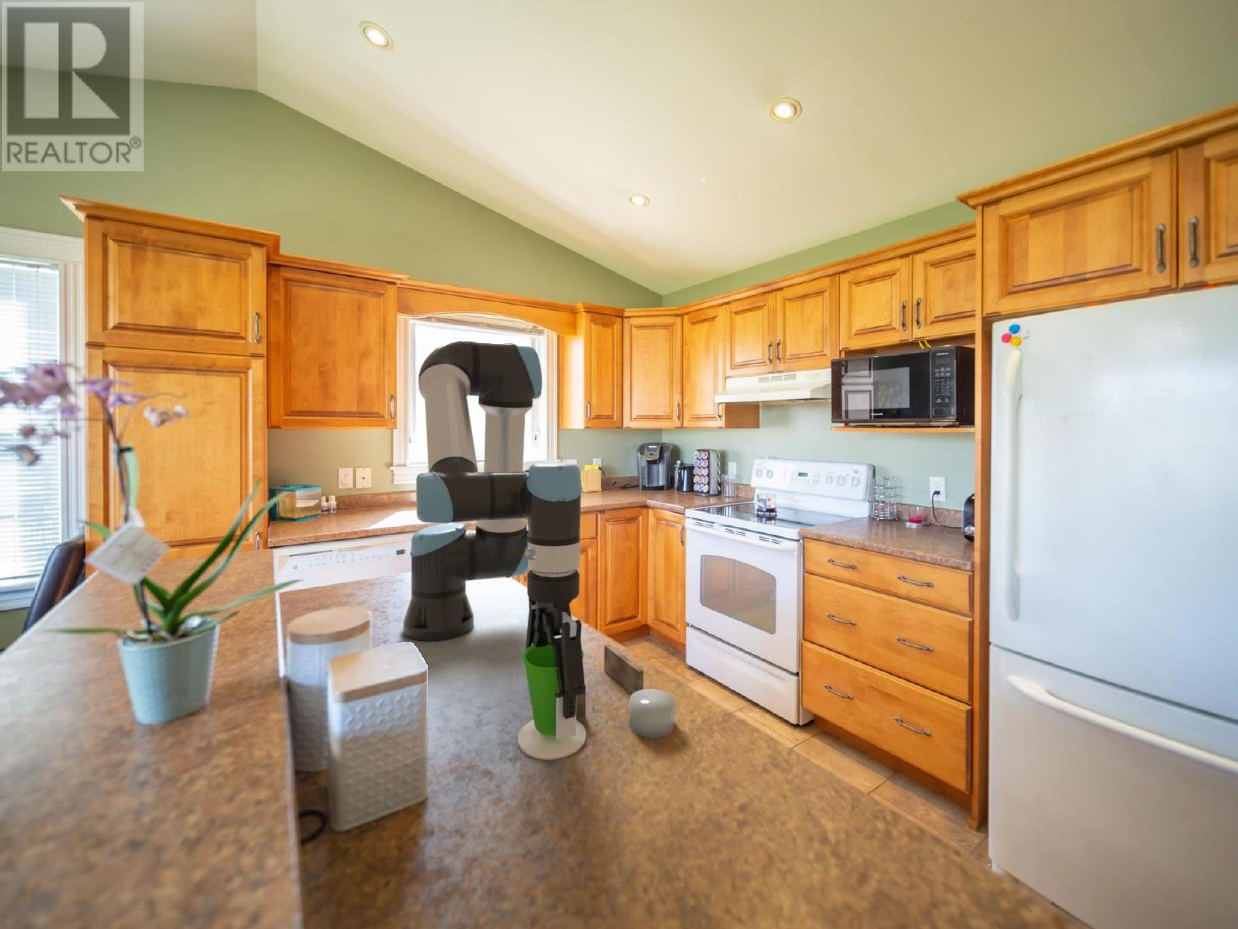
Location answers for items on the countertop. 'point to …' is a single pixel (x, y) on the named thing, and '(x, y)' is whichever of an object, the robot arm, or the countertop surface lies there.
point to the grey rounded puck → (651, 713)
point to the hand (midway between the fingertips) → (552, 719)
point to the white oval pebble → (549, 743)
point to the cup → (542, 686)
